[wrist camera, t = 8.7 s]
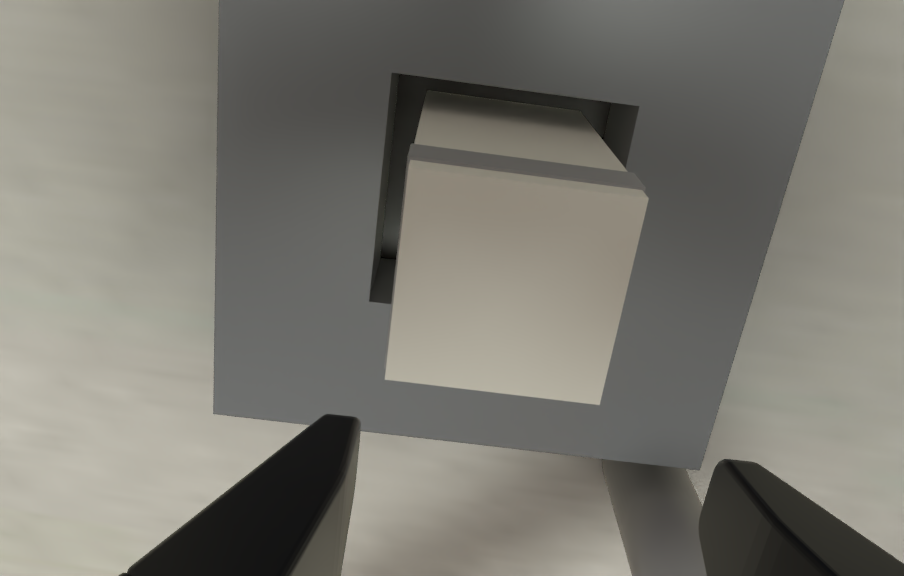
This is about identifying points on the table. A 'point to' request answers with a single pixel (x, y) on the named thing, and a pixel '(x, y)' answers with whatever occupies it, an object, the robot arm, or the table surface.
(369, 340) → the socket block
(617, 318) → the plug
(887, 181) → the table surface
